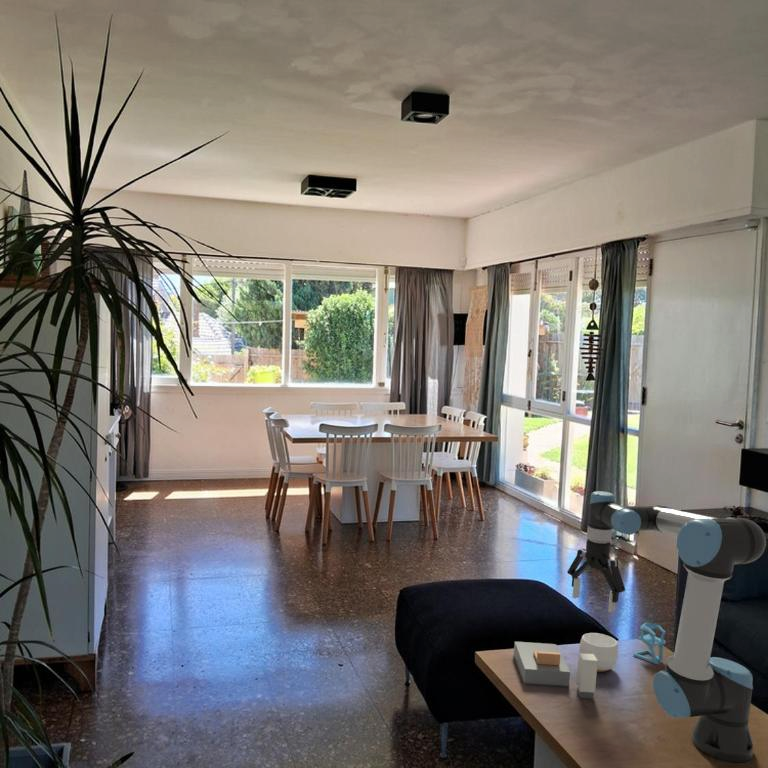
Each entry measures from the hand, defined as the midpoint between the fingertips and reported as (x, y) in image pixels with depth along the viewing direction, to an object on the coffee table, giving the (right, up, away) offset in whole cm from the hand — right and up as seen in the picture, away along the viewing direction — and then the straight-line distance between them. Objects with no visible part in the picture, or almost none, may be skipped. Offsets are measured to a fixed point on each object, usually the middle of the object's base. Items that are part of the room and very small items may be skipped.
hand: (593, 604), depth 234 cm
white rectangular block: (-6, -24, -13) cm, 28 cm away
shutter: (-16, -17, -2) cm, 23 cm away
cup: (+3, -23, +6) cm, 24 cm away
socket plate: (-17, -22, +2) cm, 28 cm away
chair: (+24, -24, +16) cm, 38 cm away
